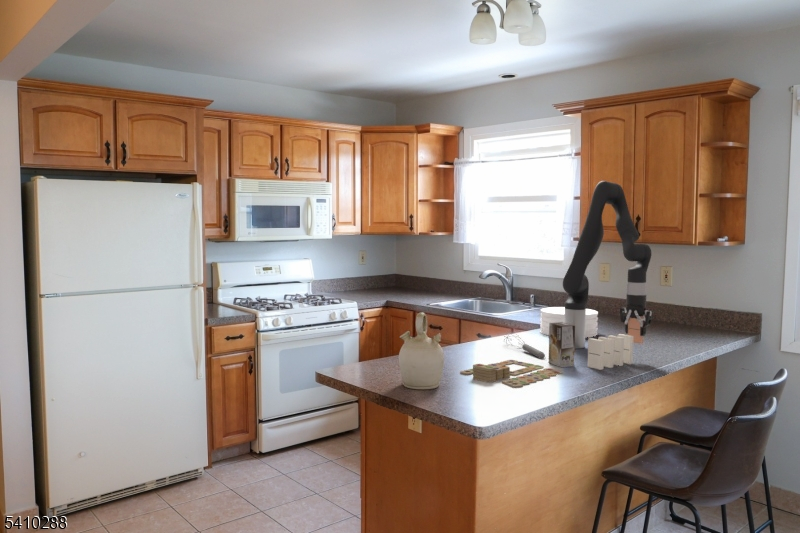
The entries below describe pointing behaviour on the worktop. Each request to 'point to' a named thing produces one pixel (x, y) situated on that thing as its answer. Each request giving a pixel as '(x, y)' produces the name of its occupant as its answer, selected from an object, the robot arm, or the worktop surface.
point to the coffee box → (561, 344)
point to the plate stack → (558, 316)
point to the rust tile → (635, 330)
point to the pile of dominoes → (510, 373)
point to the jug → (421, 358)
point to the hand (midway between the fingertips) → (635, 334)
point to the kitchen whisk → (529, 349)
